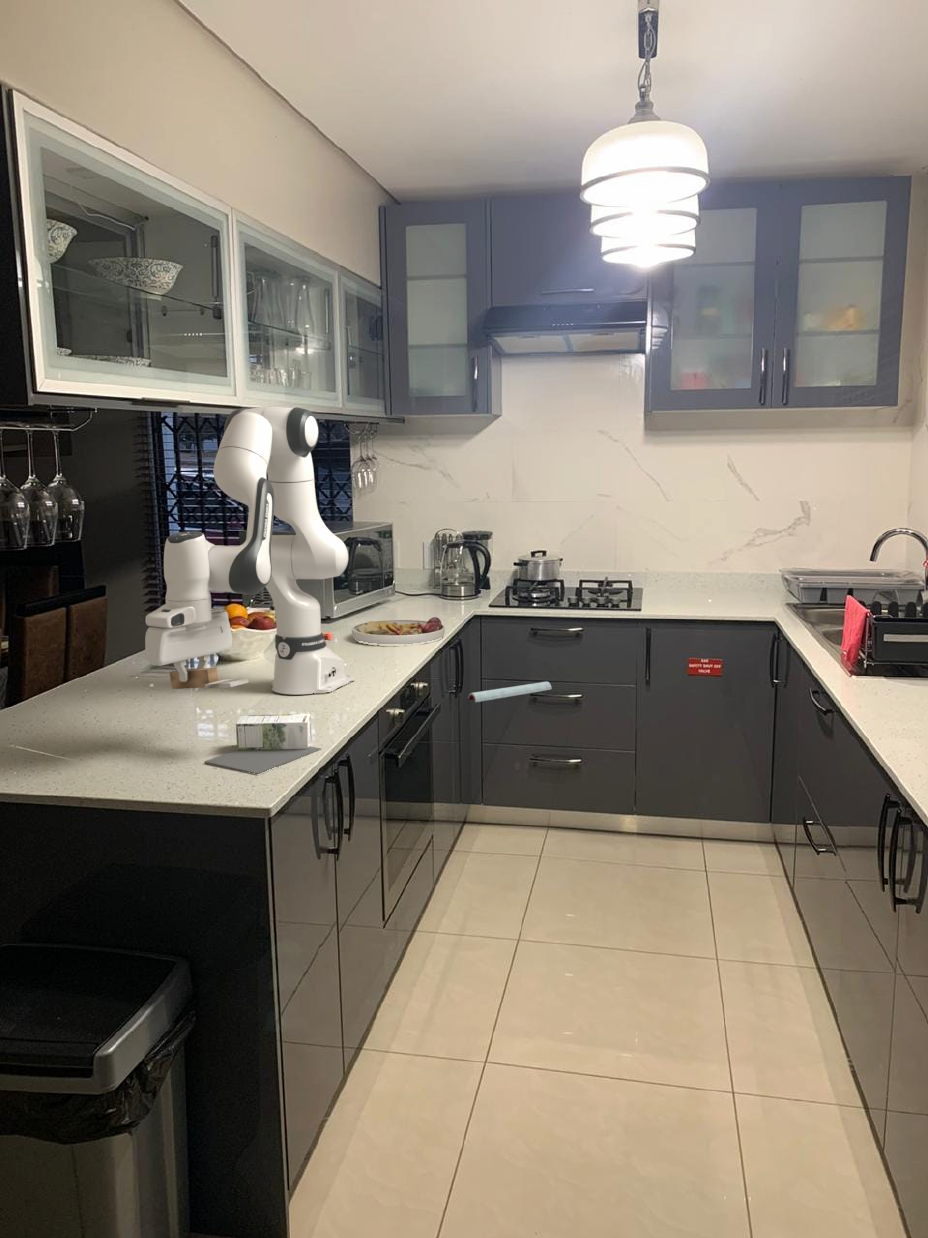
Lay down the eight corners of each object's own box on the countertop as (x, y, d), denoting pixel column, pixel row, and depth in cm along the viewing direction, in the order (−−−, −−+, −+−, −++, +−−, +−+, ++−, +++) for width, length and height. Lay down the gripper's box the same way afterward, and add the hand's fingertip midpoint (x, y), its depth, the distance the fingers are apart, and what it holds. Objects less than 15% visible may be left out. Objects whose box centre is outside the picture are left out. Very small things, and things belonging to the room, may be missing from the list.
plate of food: (358, 653, 290) (358, 628, 289) (346, 636, 319) (345, 613, 318) (454, 648, 298) (454, 623, 296) (434, 632, 326) (433, 609, 325)
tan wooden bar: (167, 690, 196) (164, 673, 196) (186, 685, 200) (183, 668, 200) (230, 687, 186) (227, 669, 186) (248, 682, 191) (245, 664, 190)
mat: (269, 741, 199) (269, 738, 199) (321, 751, 191) (321, 748, 191) (204, 764, 184) (204, 761, 183) (258, 776, 176) (258, 773, 176)
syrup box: (241, 741, 196) (312, 739, 197) (236, 751, 190) (309, 749, 191) (240, 715, 195) (311, 713, 196) (234, 723, 189) (308, 721, 190)
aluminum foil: (544, 693, 240) (544, 680, 240) (560, 698, 235) (560, 685, 234) (467, 705, 229) (467, 691, 228) (482, 711, 223) (482, 697, 222)
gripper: (216, 604, 203) (219, 668, 206) (138, 618, 186) (142, 687, 188) (237, 606, 200) (240, 671, 202) (160, 620, 183) (164, 691, 185)
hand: (192, 679), depth 195 cm, fingers closed on tan wooden bar, 2 cm apart
